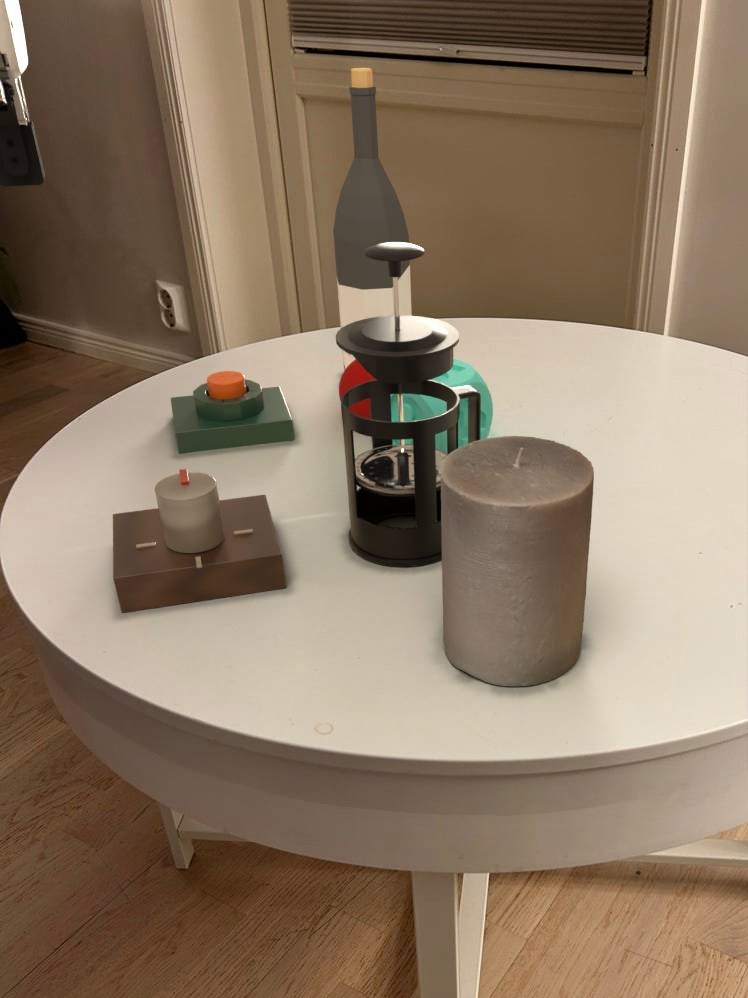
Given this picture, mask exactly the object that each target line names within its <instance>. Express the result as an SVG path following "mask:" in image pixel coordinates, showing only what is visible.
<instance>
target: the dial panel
mask: <svg viewBox="0 0 748 998" xmlns="http://www.w3.org/2000/svg"><path fill="white" fill-rule="evenodd" d="M219 502H220V508H221V514H222V520H223V526H224V532H225V538H224V540H223V541H222V543H221V544H219V545H218V546H216V547H215V548H213V549H210V550H207V551H204V552H199V553H180V552H176V551H173V550H171V549H170V548H168V547H167V545H166V543H165V538H164V533H163V528H162V524H161V519H160V514H159V509H158V507H156V508H148V509H142V510H133V511H127V512H119V513H117V512H116V513H112V568H113V569H112V577H113V583H114V587H115V591H116V596H117V600H118V603H119V608H120V612H121V613H129V612H134V611H135V612H136V611H142V610H143V611H144V610H149V609H155V608H162V607H168V606H174V605H175V606H176V605H183V604H188V603H189V604H190V603H195V602H201V601H208V600H215V599H223V598H229V597H234V596H242V595H247V594H255V593H261V592H268V591H275V590H282V589H286V588H287V582H286V575H285V566H284V558H283V553H282V548H281V545H280V541H279V538H278V535H277V531H276V527H275V524H274V523H275V522H274V520H273V516H272V512H271V508H270V505H269V502H268V498H267V495H266V494H258V495H251V496H243V497H236V498H234V497H233V498H227V499H219Z"/></svg>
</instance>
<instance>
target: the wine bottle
mask: <svg viewBox="0 0 748 998" xmlns="http://www.w3.org/2000/svg"><path fill="white" fill-rule="evenodd" d="M373 76H374V75H373V69H372V68H371V67H353V68H351V69H350V77H351V85H349V86H348V89H349V90H348V91H349V95H350V105H351V119H352V120H351V121H352V123H351V124H352V136H353V137H352V139H353V152H354V153H353V154H354V157H353V159H352V161H351V165H350V167H349V170H348V173H347V175H346V177H345V180H344V181H343V184H342V187H341V189H340V193H339V197H338V199H337V204H336V207H335V208H336V209H335V215H334V224H333V231H332V232H333V247H334V259H335V269H336V270H335V271H336V284H337V298H338V310H339V311H338V312H339V322H340V323H339V325H340V329H341V328H342V327H344V326H346V325H348V324H350V323H353V322H356V321H359V320H363V319H368V318H373V317H381V316H395V315H394V291H393V277H390V276H389V272H388V261H380V260H374V259H371V258H368V257H366V256H365V255H364V251H365V249H367V248H368V247H370V246H373V245H376V244H381V243H389V242H401V243H409V244H410V235H409V231H408V226H407V222H406V218H405V214H404V211H403V208H402V205H401V203H400V199H399V196H398V193H397V191H396V190H395V188H394V186H393V184H392V182H391V180H390V178H389V176H388V174H387V172H386V170H385V169H384V166H383V164H382V161H381V160H380V157H379V142H378V140H379V139H378V122H377V103H376V101H377V100H376V94H377V86H376V85H374V79H373V78H374V77H373ZM411 284H412V283H411V260H407V261H402V276H400V277H398V296H399V315H401V316H413V313H412V287H411ZM341 350H342V349H341ZM354 360H355V357H354V356H353V355H349V354H347V353H346V352H345V351H344V350H342V361H343V369H344V370H343V371H345V369H346V368H347V367H348V365H349V364H350V363H351V362H353V361H354Z"/></svg>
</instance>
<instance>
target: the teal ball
mask: <svg viewBox="0 0 748 998" xmlns="http://www.w3.org/2000/svg"><path fill="white" fill-rule="evenodd" d="M430 380H433V381H437V382H441V383H443V384H445V385H448V386H450V387H451V388H456V387H461V386H471V387H473V388H474V389H475V390H476V391H478V392H479V393H480V396H481V429H480V440H483V439H488V437H489V435H490V432H491V427H492V422H493V417H494V406H493V405H494V404H493V398H492V395H491V391H490V389H489V387H488V385H487V383H486V381H485V379H484V378H483V377H482V375H481V374H480V373H479V372H478V370H477V369H476V368H474V366H473V365H471V364H470V363H468V362H466V361H463V360H460V359H456V358H453V367H452V368H451V369H450V370H449V371H448V372H447V373H445V374H443V375H441V376H439V377H436V378H433V379H430ZM402 396H403V421H404V422H406V421H417V420H424V419H428V418H432V417H435V416H438V415H441V414H443V413H445V412H447V402H445V401H443V400H441V399H438V398H434V397H430V396H425V395H418V394H402ZM390 398H391V419H392V422H399V409H398V394H390ZM392 440H393V445H397V444H400V440H394V439H392ZM404 444H413V439H404ZM466 444H468V398H465V399H460V416H459V420H458V448H460V447H462V446H464V445H466ZM435 448H436V449H439V450H441V451H443V452H446V453H447V430H446V431H444V432H441V433H438V434H436V435H435Z"/></svg>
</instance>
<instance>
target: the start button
mask: <svg viewBox="0 0 748 998" xmlns="http://www.w3.org/2000/svg"><path fill="white" fill-rule="evenodd" d="M245 377H246V376H245V375H244V374H243V373H241V372H239V371H235V370H224V371H217V372H214V373H211V374H209V375H208V376H207V377H206V383H207V385H208V392H209V397H211V398H215V399H233V398H237V397H240V396H243V395H246V394H247V391H246V384H245V380H246V378H245Z"/></svg>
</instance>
